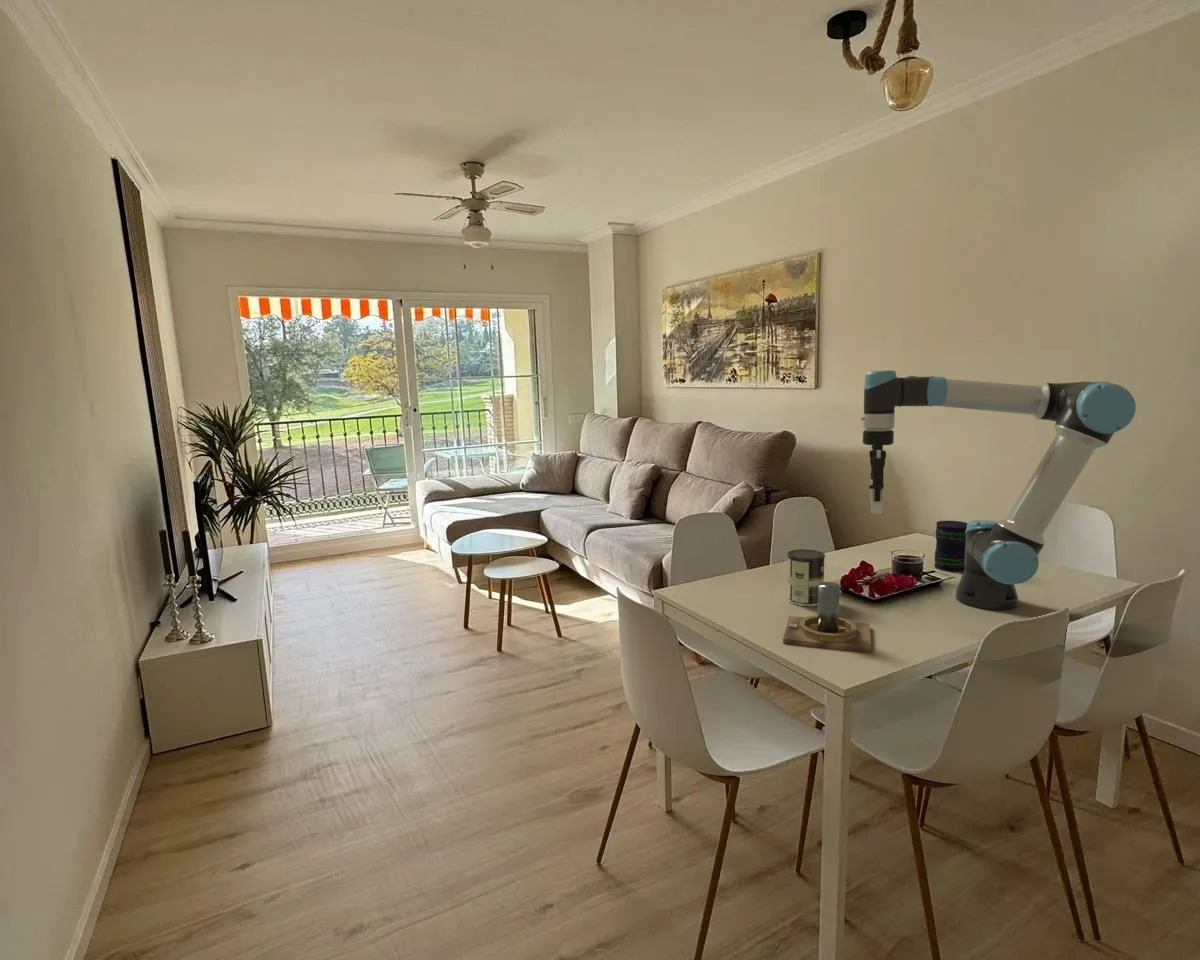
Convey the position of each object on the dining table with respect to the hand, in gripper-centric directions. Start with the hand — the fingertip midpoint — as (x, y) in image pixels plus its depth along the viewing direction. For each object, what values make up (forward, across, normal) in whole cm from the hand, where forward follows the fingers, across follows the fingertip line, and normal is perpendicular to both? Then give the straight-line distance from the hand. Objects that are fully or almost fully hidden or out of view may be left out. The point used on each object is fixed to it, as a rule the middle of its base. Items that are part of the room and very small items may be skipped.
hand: (875, 508), depth 176 cm
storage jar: (+29, -48, +25) cm, 61 cm away
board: (+29, +22, -11) cm, 38 cm away
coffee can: (+29, -3, -18) cm, 34 cm away
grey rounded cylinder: (+28, +22, -11) cm, 37 cm away
